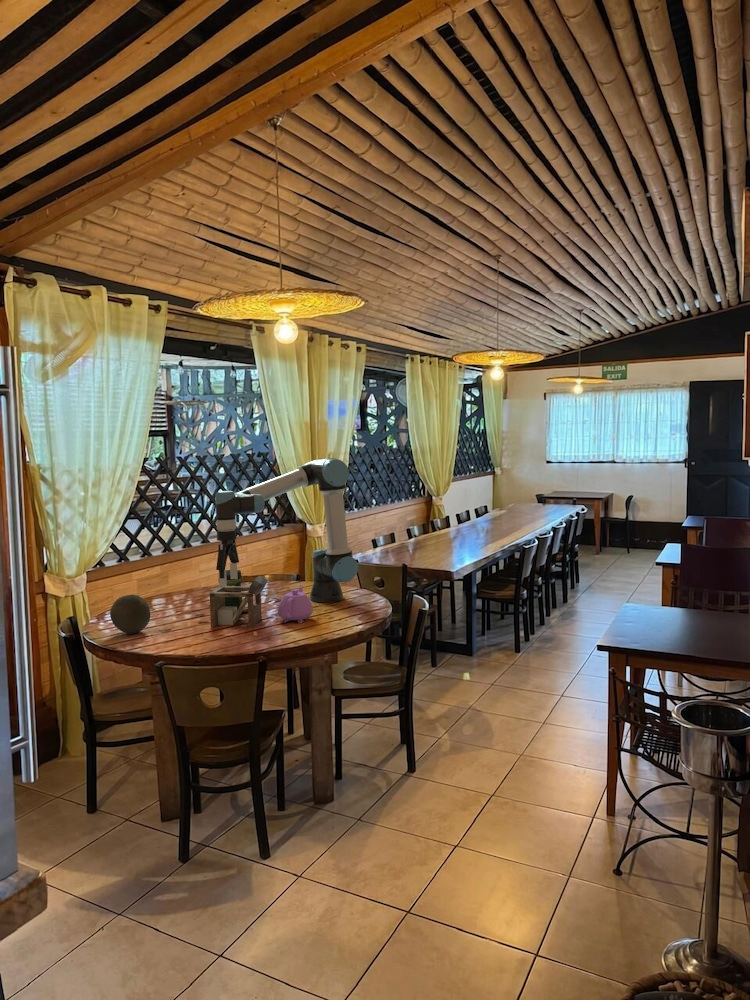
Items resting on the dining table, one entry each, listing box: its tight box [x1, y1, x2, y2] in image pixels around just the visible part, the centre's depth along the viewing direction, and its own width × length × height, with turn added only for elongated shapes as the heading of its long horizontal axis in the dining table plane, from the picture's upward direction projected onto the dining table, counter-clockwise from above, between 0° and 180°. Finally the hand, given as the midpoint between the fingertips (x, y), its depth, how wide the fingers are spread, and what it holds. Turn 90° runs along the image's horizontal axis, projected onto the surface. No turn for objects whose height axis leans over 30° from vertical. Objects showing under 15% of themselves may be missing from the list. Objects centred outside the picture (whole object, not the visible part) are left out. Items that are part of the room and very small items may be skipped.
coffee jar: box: [217, 569, 244, 613], centre depth 286 cm, size 10×8×19 cm
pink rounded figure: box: [277, 584, 314, 624], centre depth 274 cm, size 20×14×12 cm
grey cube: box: [217, 607, 238, 626], centre depth 271 cm, size 6×6×6 cm
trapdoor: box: [232, 575, 269, 621], centre depth 270 cm, size 19×8×4 cm
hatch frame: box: [209, 585, 263, 628], centre depth 271 cm, size 17×13×14 cm
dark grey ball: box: [109, 594, 151, 635], centre depth 258 cm, size 14×14×15 cm
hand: (228, 582), depth 270 cm, fingers open, 13 cm apart
